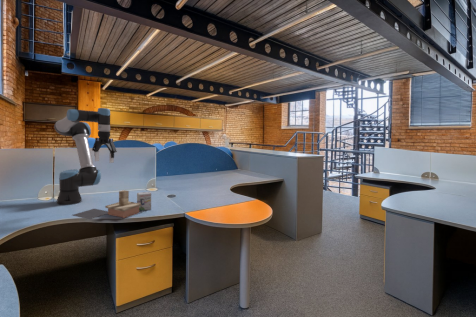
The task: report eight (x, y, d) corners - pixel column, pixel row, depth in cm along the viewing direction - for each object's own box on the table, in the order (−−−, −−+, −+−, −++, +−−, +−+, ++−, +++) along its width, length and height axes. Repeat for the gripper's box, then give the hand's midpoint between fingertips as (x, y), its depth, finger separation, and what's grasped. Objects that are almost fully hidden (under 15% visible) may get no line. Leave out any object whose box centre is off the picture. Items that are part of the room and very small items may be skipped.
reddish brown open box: (108, 215, 162) (108, 207, 161) (124, 210, 174) (124, 202, 173) (123, 218, 157) (123, 210, 157) (139, 212, 169) (139, 205, 169)
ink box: (149, 207, 182) (149, 191, 180) (151, 209, 177) (151, 193, 176) (136, 209, 176) (136, 192, 175) (138, 211, 172) (138, 194, 171)
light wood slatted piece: (105, 207, 161) (105, 191, 160) (123, 202, 175) (123, 187, 174) (123, 211, 155) (123, 194, 154) (141, 205, 169) (141, 190, 168)
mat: (71, 216, 157) (71, 215, 157) (94, 209, 172) (94, 208, 172) (89, 220, 152) (89, 219, 151) (112, 213, 166) (112, 212, 166)
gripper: (86, 130, 176) (86, 160, 178) (113, 131, 167) (113, 163, 169) (95, 130, 183) (95, 160, 185) (122, 131, 174) (122, 162, 176)
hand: (104, 161), depth 177 cm, fingers open, 13 cm apart
